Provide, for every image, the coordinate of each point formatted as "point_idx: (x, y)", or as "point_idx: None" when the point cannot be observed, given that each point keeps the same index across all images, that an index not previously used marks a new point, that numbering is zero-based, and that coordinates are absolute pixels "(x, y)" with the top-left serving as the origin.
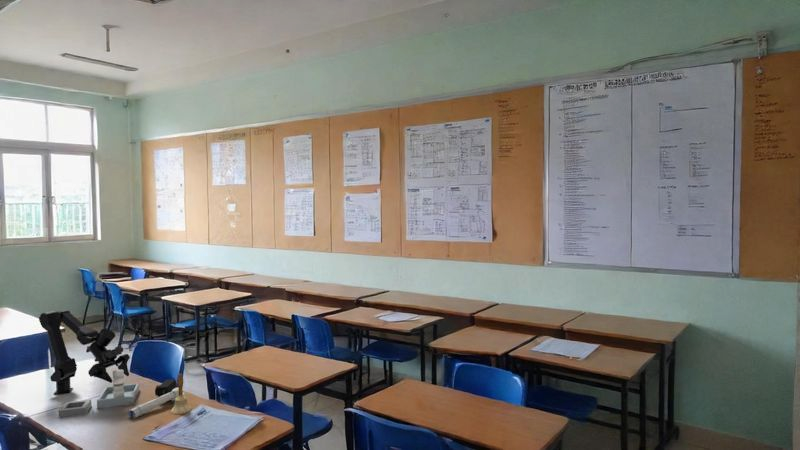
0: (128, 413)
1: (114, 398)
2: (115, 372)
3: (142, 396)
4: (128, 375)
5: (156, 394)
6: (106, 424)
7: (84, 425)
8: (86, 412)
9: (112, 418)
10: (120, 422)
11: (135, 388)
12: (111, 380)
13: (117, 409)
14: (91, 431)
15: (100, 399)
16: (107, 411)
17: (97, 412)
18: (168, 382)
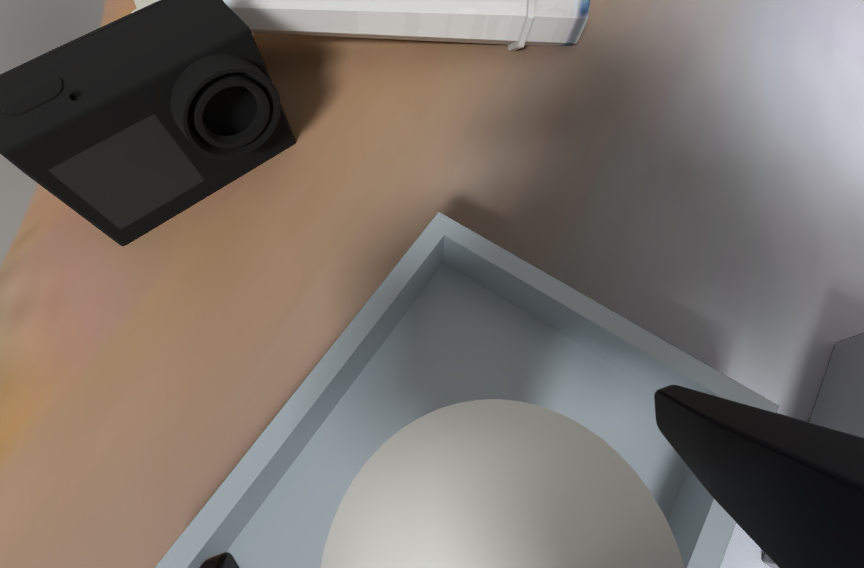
0: (583, 26)
1: (596, 302)
2: (632, 468)
3: (271, 372)
4: (228, 563)
5: (274, 110)
6: (718, 60)
7: (853, 141)
8: (838, 359)
9: (662, 113)
10: (638, 30)
11: (267, 443)
12: (691, 390)
13: (578, 241)
14: (815, 35)
15: None
16: (656, 264)
17: (734, 311)
18: (84, 62)
